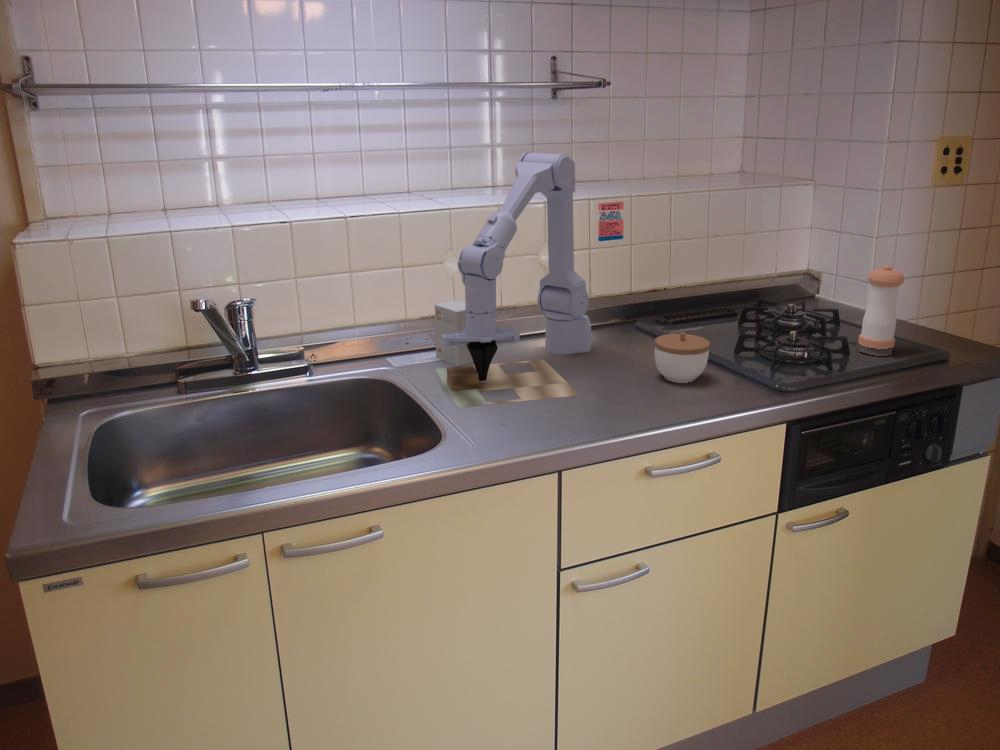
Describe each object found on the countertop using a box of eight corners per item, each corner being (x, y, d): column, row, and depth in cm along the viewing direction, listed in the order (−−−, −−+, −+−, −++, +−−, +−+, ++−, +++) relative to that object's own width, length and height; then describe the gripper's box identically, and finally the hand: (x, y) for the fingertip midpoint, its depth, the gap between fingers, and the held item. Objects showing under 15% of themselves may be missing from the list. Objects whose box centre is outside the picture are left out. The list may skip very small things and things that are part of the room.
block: (472, 379, 159) (472, 365, 158) (478, 388, 154) (478, 373, 153) (447, 382, 157) (446, 367, 156) (452, 391, 153) (452, 375, 152)
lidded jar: (717, 377, 164) (721, 332, 161) (689, 391, 156) (692, 344, 153) (670, 366, 171) (673, 322, 168) (642, 378, 163) (644, 333, 160)
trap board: (543, 366, 171) (543, 359, 170) (579, 402, 151) (580, 395, 150) (435, 376, 165) (434, 369, 165) (458, 415, 145) (458, 407, 145)
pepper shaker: (898, 357, 176) (913, 269, 169) (864, 357, 176) (878, 269, 169) (884, 347, 183) (897, 262, 176) (851, 347, 183) (863, 262, 176)
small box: (482, 366, 171) (481, 306, 167) (458, 373, 167) (456, 311, 163) (459, 357, 177) (458, 299, 172) (435, 363, 173) (433, 303, 169)
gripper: (446, 318, 146) (448, 389, 151) (524, 312, 150) (524, 382, 154) (439, 309, 153) (441, 377, 157) (513, 303, 156) (513, 370, 161)
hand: (481, 379), depth 156 cm, fingers closed
